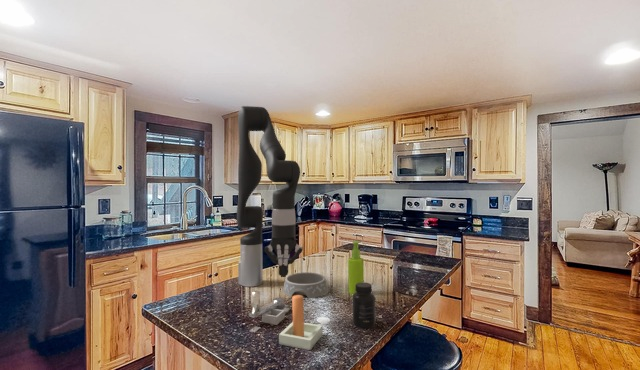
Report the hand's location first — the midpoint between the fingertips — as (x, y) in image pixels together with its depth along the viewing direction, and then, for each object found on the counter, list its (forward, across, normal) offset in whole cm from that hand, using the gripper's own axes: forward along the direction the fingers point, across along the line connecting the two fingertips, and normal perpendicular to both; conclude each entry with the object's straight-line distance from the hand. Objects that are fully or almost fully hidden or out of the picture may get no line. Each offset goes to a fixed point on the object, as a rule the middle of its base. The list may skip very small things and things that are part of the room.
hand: (283, 276), depth 100 cm
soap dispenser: (+13, +25, +24) cm, 37 cm away
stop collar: (+13, -3, -3) cm, 13 cm away
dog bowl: (+14, +4, +25) cm, 29 cm away
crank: (+12, -5, -1) cm, 13 cm away
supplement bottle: (+13, +25, -4) cm, 29 cm away
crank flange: (+13, -4, -2) cm, 14 cm away
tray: (+12, +8, -15) cm, 21 cm away
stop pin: (+12, +7, -15) cm, 20 cm away
